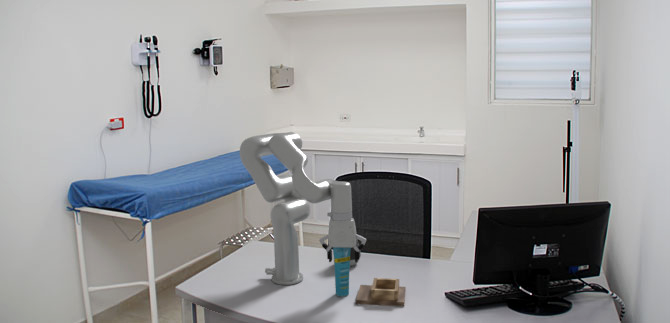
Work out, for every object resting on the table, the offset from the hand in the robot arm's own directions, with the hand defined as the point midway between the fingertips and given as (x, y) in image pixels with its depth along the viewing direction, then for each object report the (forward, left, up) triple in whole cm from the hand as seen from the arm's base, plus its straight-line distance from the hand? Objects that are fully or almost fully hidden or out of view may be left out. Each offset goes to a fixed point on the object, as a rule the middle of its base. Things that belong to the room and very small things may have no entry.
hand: (343, 261), depth 204 cm
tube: (-1, 0, -13) cm, 13 cm away
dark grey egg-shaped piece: (-3, +32, -13) cm, 35 cm away
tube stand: (+14, -1, -13) cm, 19 cm away
